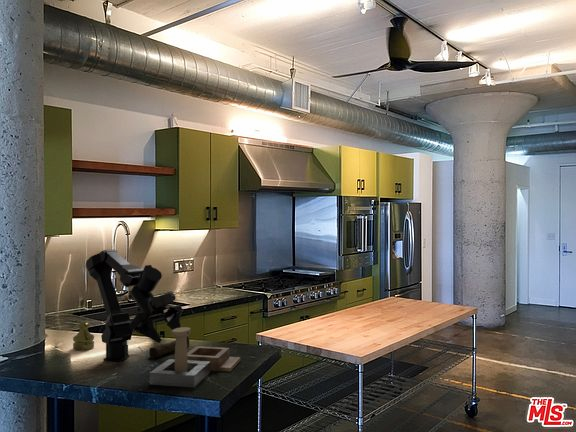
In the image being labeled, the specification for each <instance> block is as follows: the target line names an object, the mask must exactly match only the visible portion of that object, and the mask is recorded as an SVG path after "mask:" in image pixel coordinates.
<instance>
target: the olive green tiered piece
mask: <svg viewBox="0 0 576 432" xmlns="http://www.w3.org/2000/svg"><path fill="white" fill-rule="evenodd" d="M91 325H92V324H91V322H87V321H80V322H78V323H77V324H76V327H77V328H78V329H79V331H78V333H76V334H75V335H74V336H73V337H72V341H73V342H72V349H73V350H74V351H82V352H83V351H84V352H85V351H89V350H92V349H93V348H95V341H94V339H95V335H94V334H92V333H91V332H89V330H88V329H89V328H90V327H91Z"/></svg>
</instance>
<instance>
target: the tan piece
mask: <svg viewBox="0 0 576 432" xmlns="http://www.w3.org/2000/svg"><path fill="white" fill-rule="evenodd" d="M187 357H188V360H193V361H210V371H214V372H215V371H216V372H232V370H233V369H234V368H236V366H238V364H239V363H241V361H242V359H241V358H242V357H239V356H230V347H217V346H216V347H215V346H201V345H200V346H199V345H196V346H195V347H193V348H192V349H190V350H189V351H187Z"/></svg>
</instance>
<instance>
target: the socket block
mask: <svg viewBox="0 0 576 432" xmlns="http://www.w3.org/2000/svg"><path fill="white" fill-rule="evenodd" d="M210 373H211V370H210V361H193V360H188V364H187V372H180V371H175V358H174V359H173V358H168V359H167V360H165V361H164V362H163V363H161V364H160V365H158V366H157V367H156V368H154V369H153V370H151V371H149V385H153V386H164V387H165V386H167V387H181V388H193V389H194V388H196V387H197V386H198V385H199V384H200V383H201V382H202V381H203V380H204V379H205V378H206V377H207V376H208V375H210Z"/></svg>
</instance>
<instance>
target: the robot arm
mask: <svg viewBox="0 0 576 432" xmlns="http://www.w3.org/2000/svg"><path fill="white" fill-rule="evenodd" d="M85 262H86V263H85V268H86V269H87V271H88V273H89V276H90V277H91V278H92V279H94V280H95V281H96V283H97V286H98V289H99V292H100V295H101V299H102V303H103V306H104V309H105V312H106V316H107V318H106V320H105V324H104V327H105V329H104V330H103V332H102V334H101V342H102V343H105V357H104V358H103V361H107V362H108V361H109V362H122V361H123V360H126V359H127V358H128V357H130V354H129V345H128V341H131V339H132V336H133V333H136V334H139V335H140V334H141V335H142V336H145V337H147V338H149V339H150V340H153V341H154V342H156V343H158V344H160V343H162V339H161V336H160V335H159V333H158V331H157V330H156V328H155V326H154V322H156V321H161V320H163V321H164V322H165V323H166V326H167V327H168V328H170V329H171V331H172V330H173V329H176V328H180V327H182V326H181V322H180V317H181V316H182V314H183V312H184V308H183V307H182V306H181V305H179V304H178V305H172V306H170V307H168V306H169V305H171V304H174V303H175V302H174V301H176V295H175V293H174V292H173V291H167V292H165V293H164V294H161V295H157V296H156V295H155V296H154V294H153V293H152V292H153V291H154V290H155V289H156V288H157V286H158V285H159V283H160V281H161V279H162V278H163V276H162V275H163V274H162V271H160V270H159V269H157V268H156V267H153V266H152V264H146V265H145V266H144V267H140V266H137V265H132V264H131V263H129V261H127V259H125V258H124V257H123V256H121V255H120V254H119V253H118V250H116V249H103V250H101V251H100V252H99V253H96V254H94V255H91V256H90V257H89V258H88V259H86V261H85ZM113 270H114V271H115V273H117V274H118V275H119V281H120V283H121V284H122V285H123V286H124V288H131V287H132V288H131V290H130V289H129V290H128V295H127V299H128V300H132V299H133V300H134V302H135V303H136V304H137V306H138V308H137V312H138V313H137V314H135V315H134V316H133V318H132V320H131V318H130V317H131V316H130V314H129V313H128V312H123V310H122V309H121V308H122V307H121V305H120V303H119V299H118V295H117V293H116V289H115V287H114V283H113V279H112V277H111V274H112V271H113ZM167 308H168V309H167ZM166 309H167V310H166Z"/></svg>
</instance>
